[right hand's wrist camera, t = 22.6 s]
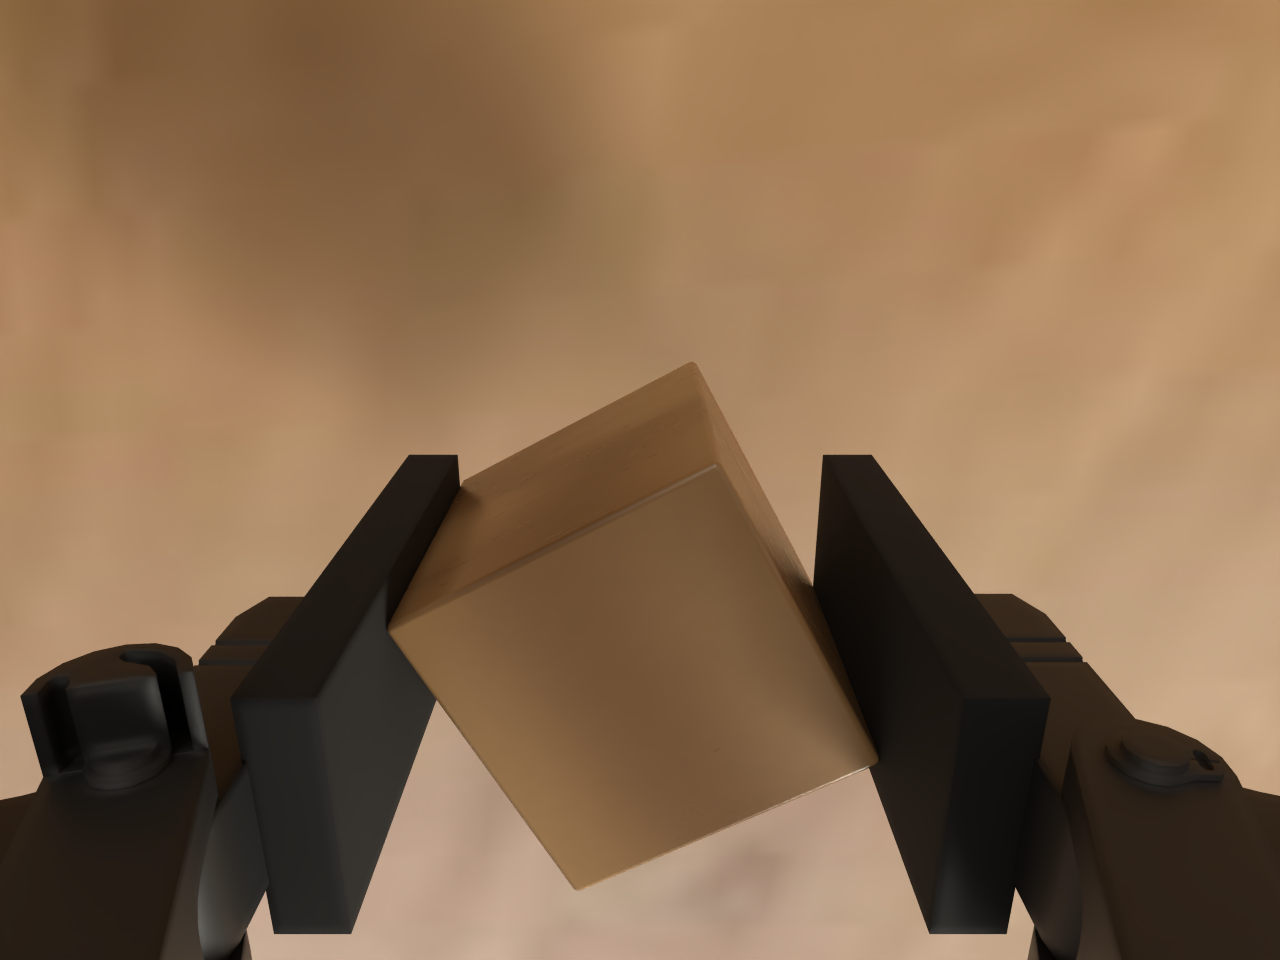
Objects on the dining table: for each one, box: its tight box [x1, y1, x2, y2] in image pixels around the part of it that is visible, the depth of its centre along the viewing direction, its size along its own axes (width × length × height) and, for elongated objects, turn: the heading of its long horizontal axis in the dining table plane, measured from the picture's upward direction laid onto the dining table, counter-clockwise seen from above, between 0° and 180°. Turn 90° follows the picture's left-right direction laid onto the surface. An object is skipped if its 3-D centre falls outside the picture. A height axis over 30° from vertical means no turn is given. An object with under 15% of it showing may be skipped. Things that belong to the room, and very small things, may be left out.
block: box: [387, 362, 879, 890], centre depth 12 cm, size 4×4×5 cm
